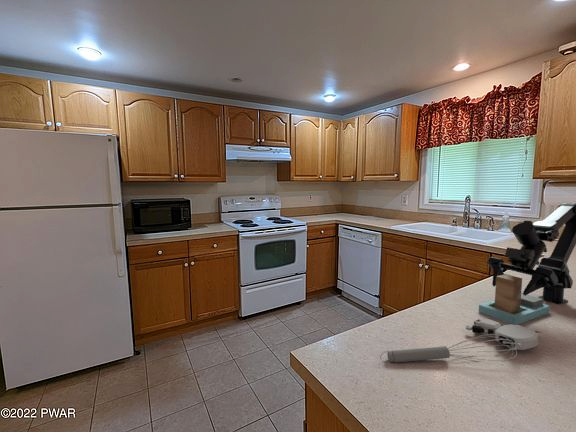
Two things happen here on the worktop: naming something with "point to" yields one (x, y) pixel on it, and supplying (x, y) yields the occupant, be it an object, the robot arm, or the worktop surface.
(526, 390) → the worktop surface
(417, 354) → the kitchen whisk
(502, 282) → the upright wooden block
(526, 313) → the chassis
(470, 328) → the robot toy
